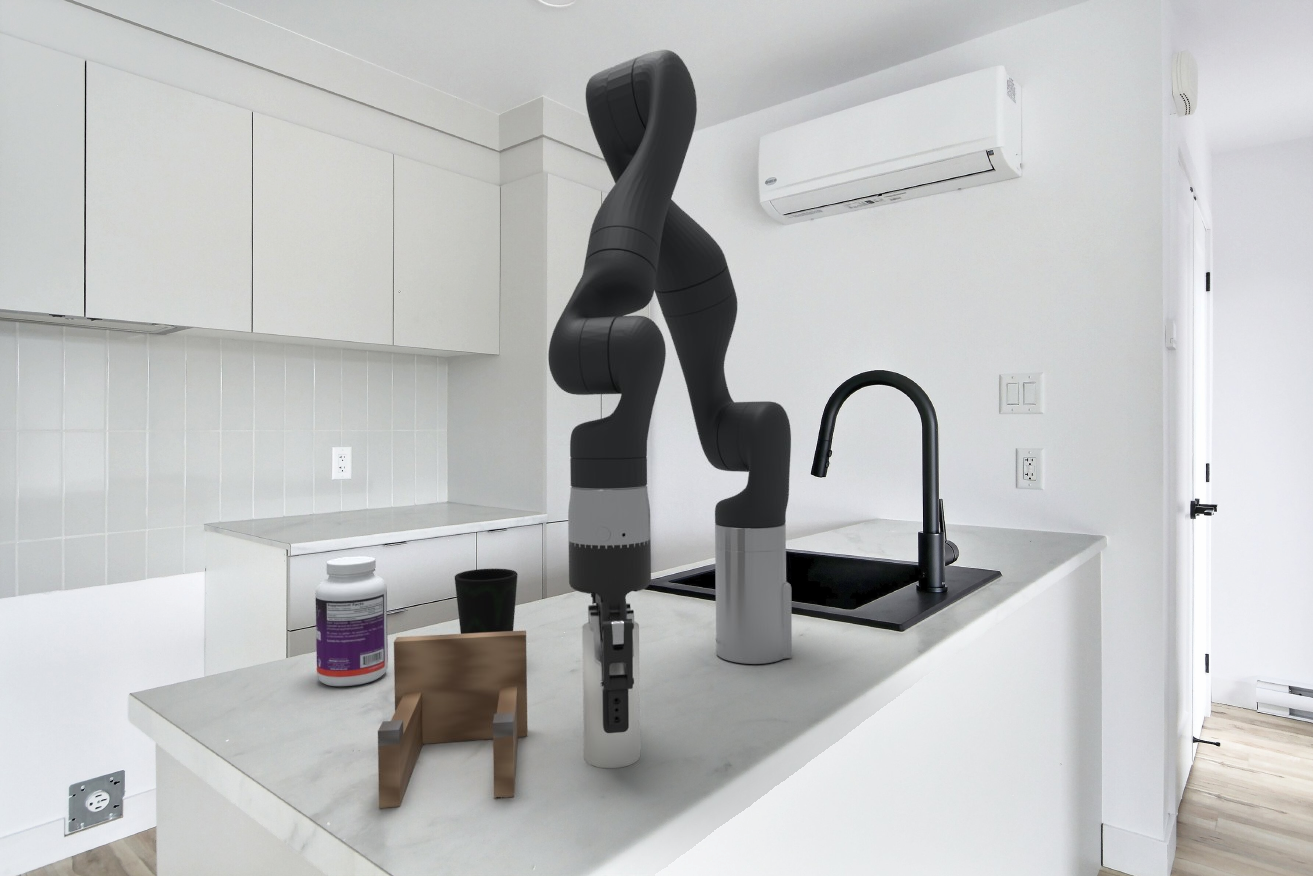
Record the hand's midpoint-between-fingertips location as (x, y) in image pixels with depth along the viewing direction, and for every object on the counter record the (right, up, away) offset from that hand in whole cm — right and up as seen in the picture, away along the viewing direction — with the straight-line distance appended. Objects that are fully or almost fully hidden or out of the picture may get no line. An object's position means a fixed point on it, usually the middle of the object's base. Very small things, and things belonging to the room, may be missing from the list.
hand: (611, 714), depth 69 cm
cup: (-17, -4, +25) cm, 30 cm away
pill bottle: (-33, -4, +22) cm, 40 cm away
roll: (0, -4, 0) cm, 4 cm away
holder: (-14, -4, -1) cm, 15 cm away
